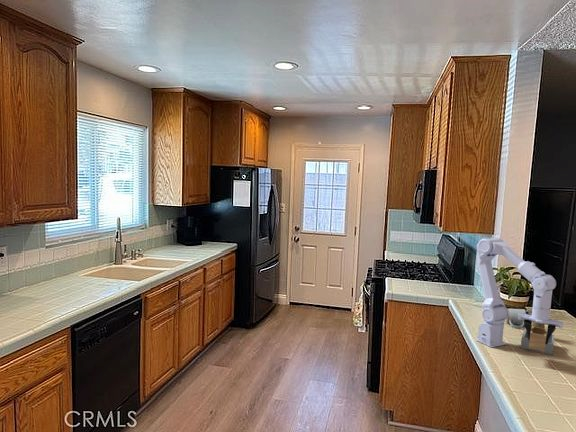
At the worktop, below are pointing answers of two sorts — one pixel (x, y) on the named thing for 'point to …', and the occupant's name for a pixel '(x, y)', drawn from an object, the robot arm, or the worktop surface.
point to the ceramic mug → (515, 318)
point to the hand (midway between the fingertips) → (537, 341)
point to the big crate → (547, 350)
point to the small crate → (537, 338)
